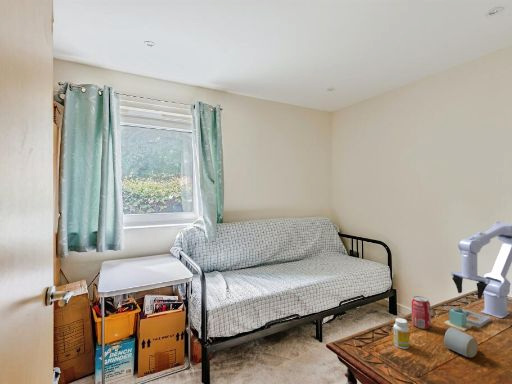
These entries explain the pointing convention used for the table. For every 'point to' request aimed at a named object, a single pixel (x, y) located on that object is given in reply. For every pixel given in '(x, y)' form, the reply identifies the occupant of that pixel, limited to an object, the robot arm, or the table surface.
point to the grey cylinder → (460, 342)
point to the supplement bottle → (401, 333)
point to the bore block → (482, 318)
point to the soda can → (421, 312)
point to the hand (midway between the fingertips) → (469, 295)
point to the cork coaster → (458, 326)
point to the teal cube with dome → (457, 317)
